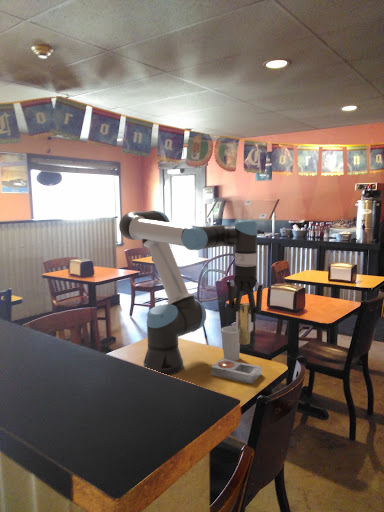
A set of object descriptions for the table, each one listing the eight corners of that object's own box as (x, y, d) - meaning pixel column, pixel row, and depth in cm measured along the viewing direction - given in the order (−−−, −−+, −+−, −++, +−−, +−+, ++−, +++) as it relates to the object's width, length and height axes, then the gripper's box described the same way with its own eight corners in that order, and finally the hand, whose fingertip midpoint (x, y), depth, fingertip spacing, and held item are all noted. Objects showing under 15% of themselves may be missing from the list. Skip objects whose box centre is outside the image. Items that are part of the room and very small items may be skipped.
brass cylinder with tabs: (242, 338, 144) (243, 301, 142) (252, 340, 142) (253, 303, 140) (235, 344, 139) (235, 305, 137) (246, 346, 137) (246, 307, 135)
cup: (240, 362, 155) (240, 333, 153) (220, 361, 156) (220, 332, 155) (242, 355, 162) (242, 326, 161) (222, 353, 164) (222, 326, 162)
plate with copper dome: (210, 374, 144) (210, 366, 144) (221, 365, 152) (221, 358, 151) (251, 384, 136) (252, 375, 136) (261, 374, 144) (261, 366, 143)
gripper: (218, 264, 138) (218, 328, 141) (265, 268, 129) (263, 336, 133) (227, 261, 144) (227, 323, 147) (272, 265, 136) (271, 330, 139)
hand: (244, 329), depth 140 cm, fingers closed on brass cylinder with tabs, 4 cm apart
